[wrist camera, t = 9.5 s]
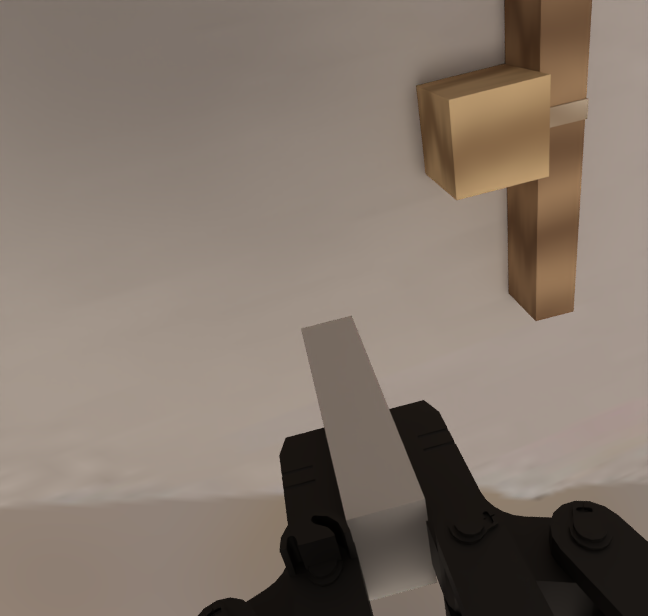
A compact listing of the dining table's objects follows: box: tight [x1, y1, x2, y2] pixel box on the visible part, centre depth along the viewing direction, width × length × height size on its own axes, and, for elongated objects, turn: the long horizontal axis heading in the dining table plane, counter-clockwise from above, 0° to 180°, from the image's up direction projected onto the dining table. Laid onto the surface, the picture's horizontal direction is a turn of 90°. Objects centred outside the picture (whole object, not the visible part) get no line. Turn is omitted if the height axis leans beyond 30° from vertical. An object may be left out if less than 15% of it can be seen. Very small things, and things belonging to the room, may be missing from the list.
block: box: [416, 64, 551, 200], centre depth 34 cm, size 6×6×6 cm
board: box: [505, 0, 592, 321], centre depth 36 cm, size 26×3×5 cm, turn 11°
